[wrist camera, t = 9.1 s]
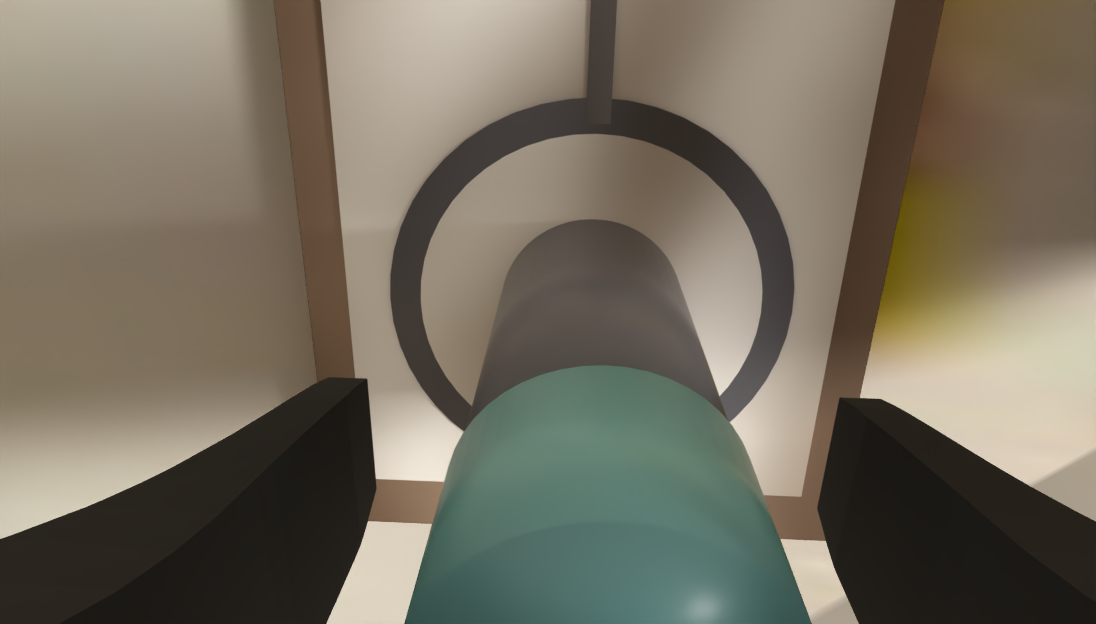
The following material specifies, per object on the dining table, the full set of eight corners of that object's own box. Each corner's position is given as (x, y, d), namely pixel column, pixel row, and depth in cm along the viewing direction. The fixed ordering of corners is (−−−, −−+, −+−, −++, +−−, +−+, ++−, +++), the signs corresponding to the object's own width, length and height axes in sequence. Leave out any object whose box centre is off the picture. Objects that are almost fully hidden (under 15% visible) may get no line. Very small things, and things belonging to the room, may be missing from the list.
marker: (693, 216, 16) (859, 530, 6) (678, 391, 17) (791, 840, 8) (495, 212, 16) (378, 514, 7) (498, 386, 17) (408, 823, 8)
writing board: (1008, -454, 12) (1064, -514, 11) (815, 511, 20) (833, 550, 19) (247, -459, 13) (205, -516, 11) (346, 491, 21) (329, 528, 19)
